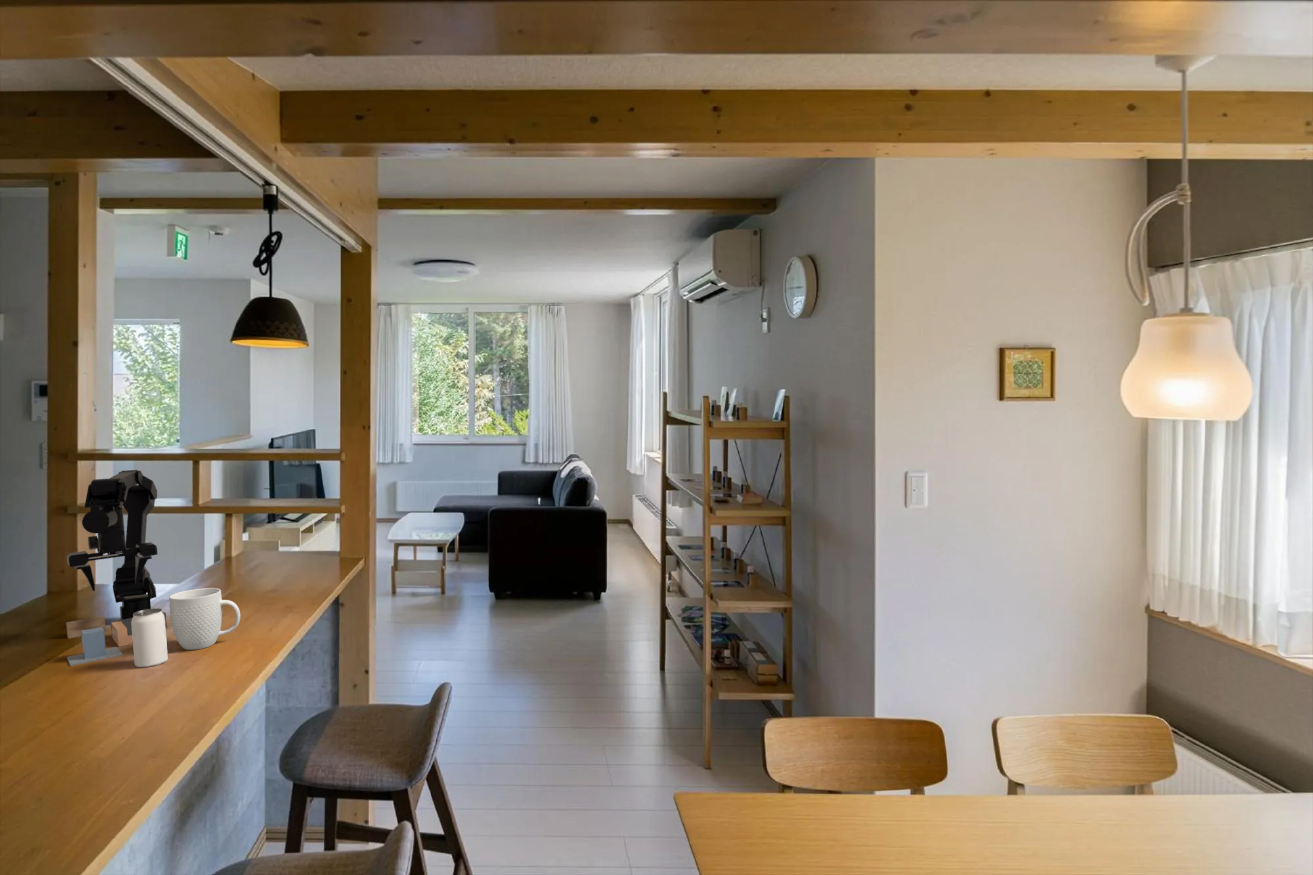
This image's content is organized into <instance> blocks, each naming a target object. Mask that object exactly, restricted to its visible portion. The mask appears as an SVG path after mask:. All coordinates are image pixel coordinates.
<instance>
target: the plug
mask: <svg viewBox="0 0 1313 875" xmlns="http://www.w3.org/2000/svg"><path fill="white" fill-rule="evenodd" d="M81 634H82V636H81V644H82V654H83V656H84V658H85V659H90V658H94V657H99V656H104V655H106V649H107V648H106V639H105V638H106V636H105V632H104V630H103V628H102V627H99V628H93V629H88V630H83V631H81Z"/></svg>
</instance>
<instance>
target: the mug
mask: <svg viewBox="0 0 1313 875" xmlns="http://www.w3.org/2000/svg"><path fill="white" fill-rule="evenodd" d="M168 599H169V615H170V621H171V628H172V630H173V631H172V632H173V633H174V636H175V638H176V640H177V643H178V644H179V645H180V647H182V649H184V650H186V651H194V650H200V649H201V650H202V649H206V648H208V647H211V646H213V645H215V643H216V642H217V640H218V639H219V636H223V635H226V634H229V633H231V632H233V631H234V630H236V629H237V628H238V626H239V624H240V621H241V612H240V611H241V610H240V608H239V606H238V605H237V604H236V602H234V601H232V600H228V599H222V590H221V589H220V588H218V587H217V588H216V587H206V588H205V587H204V588H196V589H188V590H183V591H180V592H176V593H173V594H171V595H170V596H169V598H168ZM224 605H227V606H228V605H229V606H230V607H231V608H232V609H233V611H234V613H235V622H234V623H233V625H232V626H231V627H229V628H228V629H224V630H221V628H222V624H223V606H224Z"/></svg>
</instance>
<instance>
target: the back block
mask: <svg viewBox="0 0 1313 875" xmlns="http://www.w3.org/2000/svg"><path fill="white" fill-rule="evenodd" d="M65 625H66V626H65V627H66V638H67V639H69V640H70V639H73V638H79V637H82V634H81V631H83V630H88V629H93V628H99V627H102V628H103V630H104V633H105V632H106V630H107V629H106V619H105V616H104V615H99V616H95V617H89V618H83V619H77V620H73V621H72V620H71V621H67V622H66V621H65Z"/></svg>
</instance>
